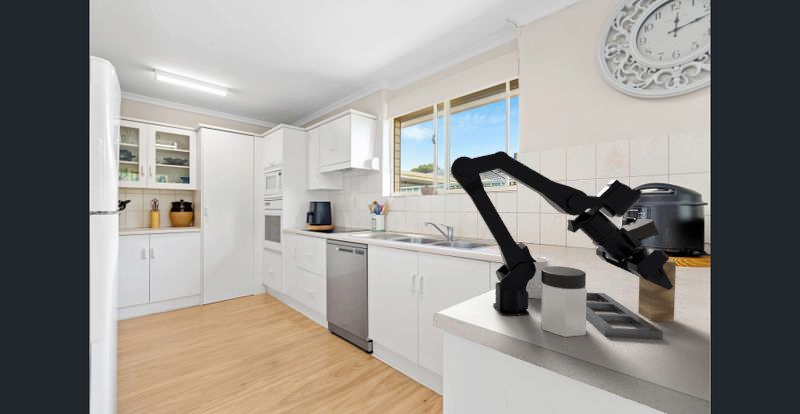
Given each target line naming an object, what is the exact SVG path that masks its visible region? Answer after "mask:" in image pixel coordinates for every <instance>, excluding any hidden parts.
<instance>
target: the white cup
mask: <svg viewBox="0 0 800 414" xmlns="http://www.w3.org/2000/svg"><path fill="white" fill-rule="evenodd" d="M531 256H532V257H533V259H535V260H536V262H533V263H534V264H535V267H536V273H535V275H534V277H533V278H532V279H531V280H529V282H528V284H527V286H526V291H527V292H528V299H541V269H542V268H544V267H549V258H547V257H543V256H539V255H531Z"/></svg>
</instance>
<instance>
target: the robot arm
mask: <svg viewBox="0 0 800 414" xmlns="http://www.w3.org/2000/svg"><path fill="white" fill-rule="evenodd" d="M495 170H496V171H499V172H501V173H502V174H504V175H506V176H507V177H509V178H511V179H513V180H514V181H516V182H518V183H519V184H521V185H523V186H524V187H526V188H528V189H529V190H531V191H533V192H535V193H537V194H538V195H540V196H541V197H542V198H543V199H544V200H545V202H546V203H547V204H548V205H550V206H551V207H552V208H553V209H554V210H556V211H557V212H559V213H561V214H563V215H569V216H574V217H575V216H576V217H575V218H574V219H567V231H568V232H571V233H577V232H578V231H579V230H580V231H581V232H582V233H584V234H585V236H587V237H588V238H589V239H590V241H592V242H591V244H593V245H594V246H595V247H597V248H596V249H595V255H596V256H597V257H598V258H600V259H601V261H605V263H607V264H610V265H611V266H614V267H616V268H620V270H621V269H622V270H623V271H626V272H628V273H631V274H632V275H635V276H636V277H638V278H639V277H640V278H643V279H645V280H647V281H649V282H652V283H654V284H656V285H659V286H661V287H663V288H665V289H668V290H670V289H671V288H672V287H673V285H672V283H671V282H670V280H669V278H668V276H667V274H666V273H665V271H664V268H663V265H664V264H665V263H666V262H667V261H668V260H670V256H669V255H668V254H667V253H665V252H664V251H663V250H662V249H658V248H655V247H651V246H649V247H648V246H647V247H646V246H644V247H643V248H642V249H641V250H639V249H636V248H640V247H641V246H642V245H643V243H642V242H641V241H644V240H646V239H648V238H651V237H653V236H654V237H656V236H658V235H660V231H659V228H658V227H657V224H656V223H655V221H654V219H650V218H649V219H648V218H637V219H635V218H634V217H632V216H631V217H630V216H628V217H625V218H622V217H623V216H624V215H625V214H626V213H627V212H629V211H630V210H631V208H634V206H635V205H636V204H637V203H638V202H640V201H641V200H642V196H641V194H640V193H639V192H638V190H636V189H635V188H632V187H630V186H629V185H627V184H626V183H622V182H620V180H619V179H611V180H610V181H608V183H607V184H606V185H605V187H604V188H603V189H602V190H601V191H599V193H597V195H593V194H592V195H588V194H587V193H586V192H584V191H582V190H580V189H577V188H575V187H573V186H570V185H566V184H563V183H559V182H557V181H553V180H552V179H550V178H549V177H546V176H544V175H543V174H541V173H540V172H538V171H536V170H535V169H533V168H531V167H529V166H527V165H526V164H524V163H522V162H520V161H519V160H517V159H515V158H513V157H512V156H510V155H509V154H508V153H507V152H505V151H503V150H501V151H496V152H495V153H490V154H485V155H482V156H476V157H469V156H465V155H464V156H459V157H458V158H456V159H455V160H454V161H453V162H452V164H451V167H450V173H451V177H452V178H453V179H454V180H455V181H456V183H457V184H458V185H459V186H460V187H461V188H462V190H463V191H464V192H465V193H466V194H467V195H468V196H469V197H470V199H471V201H472V203H473V204H474V207H475V208H476V210H477V211H478V213H479V214H480V217H481V219H482V220H483V222H484V224H485V225H486V227H487V229H488V231H489V232H490V234H491V236H492V237H493V239H494V242H496V244H497V246H498V249H499V252H500V256H501V258H502V261H503V264H502V265H501V266H500V267H499V268H497V270H496V271H495V275H496V277H497V280H498V281H499V282H495V302H494V303H492V304H493V305H492V306H493V307H494V309H495V310H496V311H498V313H499V314H500V315H502V316H521V315H523V316H525V315H530V312H529V310H528V309H529V298H528V292H527V291H526V286H527V284H528V282H529V280H531V279H532V278H533V277H534V275H535V273H536V267H535V264H534V263H533V262H536V260H535V259H533V257H532V256H533V255H532V254H531V251H530V249H529V247H528V245H526V244H525V243H524V242H522V241H520V242H519V243H517V242H516V241H515V239H514V237H513V235H512V234H511V232H510V231H509V229H508V227H507V226H506V223H504V221H503V219H502V217H501V216H500V214H499V212H498V211H497V209H496V207H495V205H494V204H493V202H492V200H491V198H490V197H489V195H488V193H487V191H486V190H485V187H484V185H483V180H482V178H481V175H480V174H484V173H487V172H491V171H495ZM614 217H616V218H620V219H621V218H622V219H621V220H622V221H621V226H617V225H616V224H615V223H613V221H611V219H612V218H614ZM609 218H611V219H609Z"/></svg>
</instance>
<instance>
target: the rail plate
mask: <svg viewBox="0 0 800 414" xmlns="http://www.w3.org/2000/svg"><path fill="white" fill-rule="evenodd" d="M587 300H598V301H587ZM594 310H602V311H614V312H615V313H602V312H601V313H600V312H599V313H598V312H596V311H594ZM586 321H588V322H589V323H590V324H591V325H592V324H593V325H594V326H595V327H594V326H593V325H592V326H593V327H594V328H596V330H597V331H598V332H600V334H602V336H604V337H608V338H627V339H643V340H659V341H660V340H663V337H664V336H663V331H662V330H660V329H659V328H658V327H656V326H654V325H653V324H651V323H650V322H648V321H647V320H645V319H644V318H642V317H641V316H640V315H639V314H637V313H635V312H634V311H632V310H630V309H629V308H627V307H626V306H624V305H623V304H621V303H620V302H618V301H617V300H616V299H614V298H613V297H611V296H609V295H608V294H606V293H605V292H587V296H586ZM609 323H616V324H617V323H618V324H631V325H633V326H634V327H635V328H625V327H613V326H612V325H611V324H609Z"/></svg>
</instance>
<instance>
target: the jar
mask: <svg viewBox="0 0 800 414" xmlns="http://www.w3.org/2000/svg"><path fill="white" fill-rule="evenodd" d="M586 276H587V273H586V272H585V271H583V270H582V269H579V268H576V267H575V268H574V267H569V266H568V267H567V266H560V265H558V266H557V265H556V266H555V265H554V266H553V265H551V266H550V265H548V267H544V268H542V269H541V298H540V325H541V329H542V330H543V331H546V332H549V333H552V334H555V335H558V336H560V337H563V338H566V337H567V338H569V337H579V336H586V333H587V330H586V328H587V319H586V301H587V299H586V296H587V291H588V290H587V287H586V286H587V277H586Z"/></svg>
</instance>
